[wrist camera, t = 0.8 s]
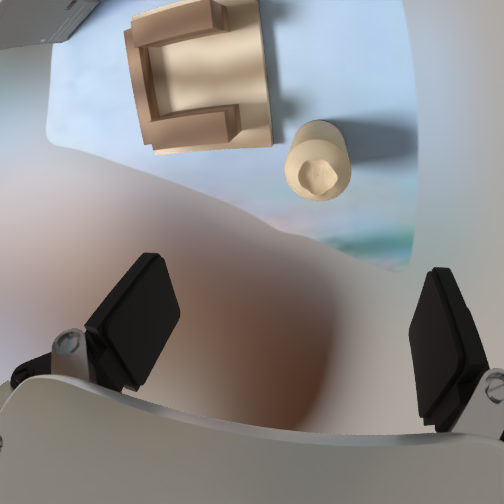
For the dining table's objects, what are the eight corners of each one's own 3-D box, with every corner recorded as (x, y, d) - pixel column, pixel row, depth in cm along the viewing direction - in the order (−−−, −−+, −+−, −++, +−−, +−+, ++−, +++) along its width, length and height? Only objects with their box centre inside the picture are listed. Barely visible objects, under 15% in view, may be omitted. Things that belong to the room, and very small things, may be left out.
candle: (346, 122, 28) (356, 148, 20) (342, 170, 31) (348, 212, 24) (294, 117, 29) (282, 141, 21) (293, 165, 32) (281, 205, 25)
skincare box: (65, 43, 27) (-30, 65, 14) (48, 14, 24) (-41, 29, 11) (103, 0, 23) (2, 2, 10) (84, -28, 20) (-11, -31, 7)
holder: (137, 17, 24) (104, 14, 19) (256, -12, 21) (241, -27, 16) (160, 152, 35) (134, 170, 30) (273, 144, 31) (262, 162, 27)
